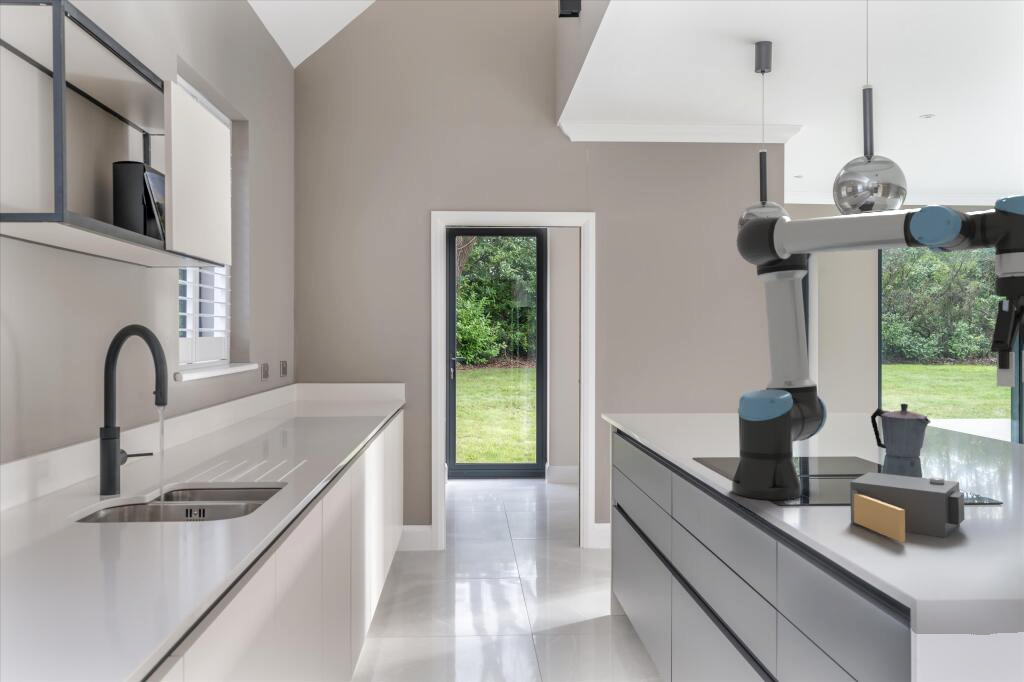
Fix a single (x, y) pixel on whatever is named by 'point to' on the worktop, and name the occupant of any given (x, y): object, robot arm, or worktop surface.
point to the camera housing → (917, 500)
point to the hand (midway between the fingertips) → (1018, 384)
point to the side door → (878, 516)
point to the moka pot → (901, 440)
